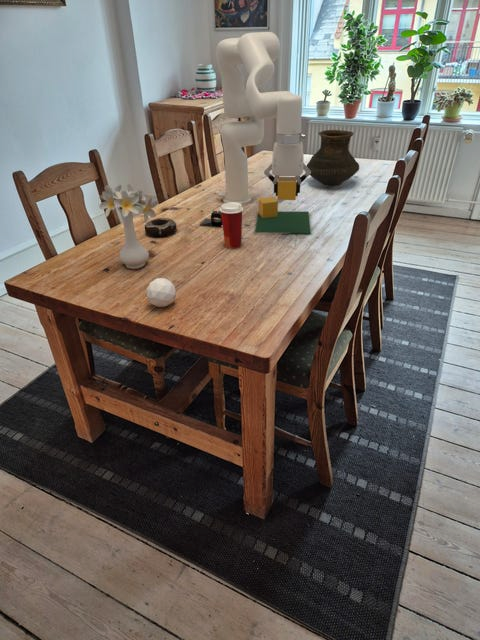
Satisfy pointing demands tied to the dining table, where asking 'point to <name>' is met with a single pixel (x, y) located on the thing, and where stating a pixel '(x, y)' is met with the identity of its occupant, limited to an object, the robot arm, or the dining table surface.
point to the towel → (284, 223)
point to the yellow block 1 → (268, 207)
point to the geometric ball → (161, 292)
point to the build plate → (213, 220)
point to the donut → (160, 227)
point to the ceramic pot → (333, 158)
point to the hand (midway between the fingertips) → (286, 194)
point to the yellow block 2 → (287, 188)
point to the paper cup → (232, 224)
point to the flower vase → (129, 221)
